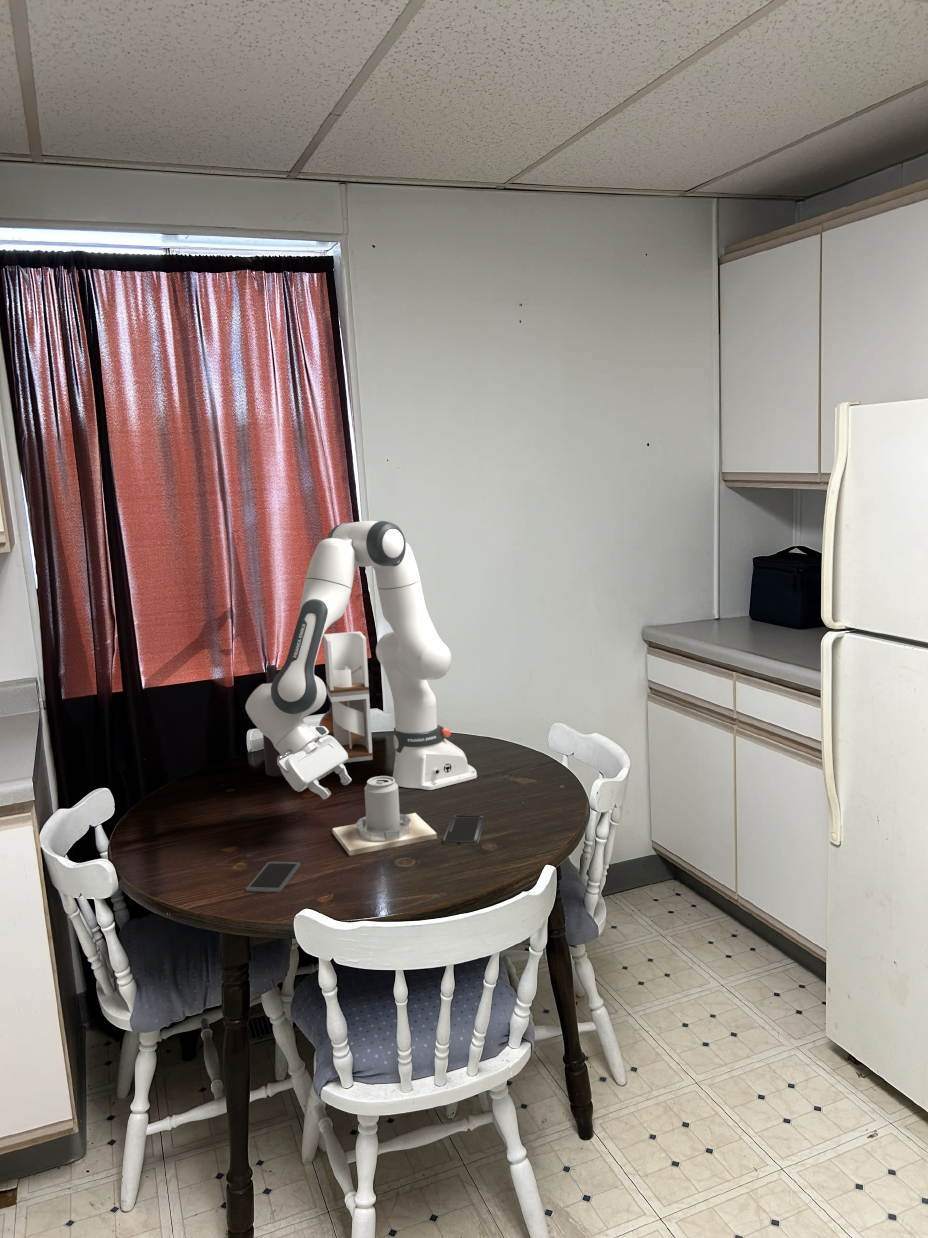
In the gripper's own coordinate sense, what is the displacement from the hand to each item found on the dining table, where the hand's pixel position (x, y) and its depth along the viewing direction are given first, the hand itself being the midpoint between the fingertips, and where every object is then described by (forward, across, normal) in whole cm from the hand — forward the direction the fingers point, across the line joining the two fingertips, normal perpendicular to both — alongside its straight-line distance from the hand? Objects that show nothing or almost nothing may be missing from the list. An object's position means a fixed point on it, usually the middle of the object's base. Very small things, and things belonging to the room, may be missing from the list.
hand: (338, 789), depth 215 cm
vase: (-18, +60, +32) cm, 70 cm away
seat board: (+15, 0, -1) cm, 15 cm away
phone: (+27, +8, -12) cm, 30 cm away
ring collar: (+14, 0, -2) cm, 14 cm away
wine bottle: (-19, +31, +33) cm, 49 cm away
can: (+14, 0, -2) cm, 14 cm away
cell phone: (+7, -26, +8) cm, 28 cm away
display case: (-11, +50, +25) cm, 57 cm away
